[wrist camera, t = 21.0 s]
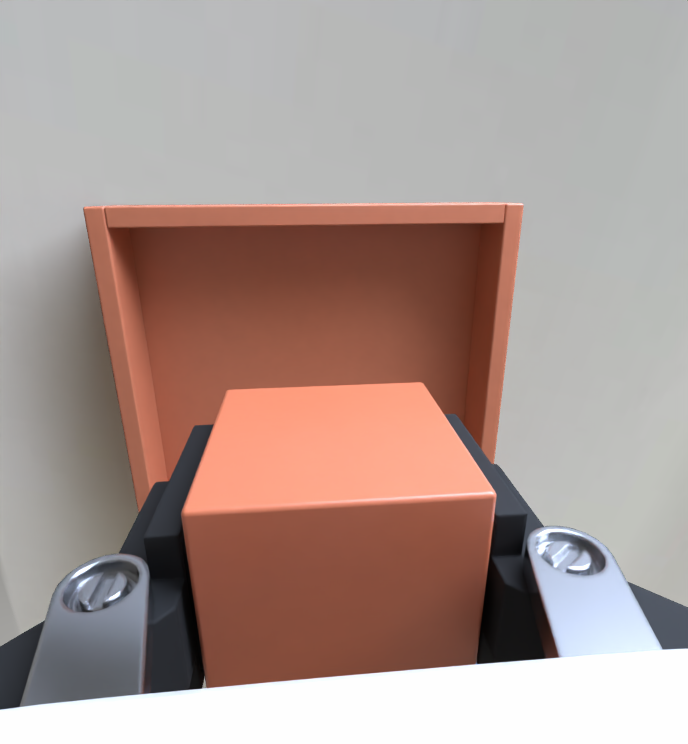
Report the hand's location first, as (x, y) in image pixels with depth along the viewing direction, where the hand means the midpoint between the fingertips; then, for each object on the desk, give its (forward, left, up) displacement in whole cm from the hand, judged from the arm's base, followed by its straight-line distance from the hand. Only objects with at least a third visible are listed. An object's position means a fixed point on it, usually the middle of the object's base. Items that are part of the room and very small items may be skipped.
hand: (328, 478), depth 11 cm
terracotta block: (0, 0, 0) cm, 0 cm away
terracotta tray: (0, 0, -8) cm, 8 cm away
